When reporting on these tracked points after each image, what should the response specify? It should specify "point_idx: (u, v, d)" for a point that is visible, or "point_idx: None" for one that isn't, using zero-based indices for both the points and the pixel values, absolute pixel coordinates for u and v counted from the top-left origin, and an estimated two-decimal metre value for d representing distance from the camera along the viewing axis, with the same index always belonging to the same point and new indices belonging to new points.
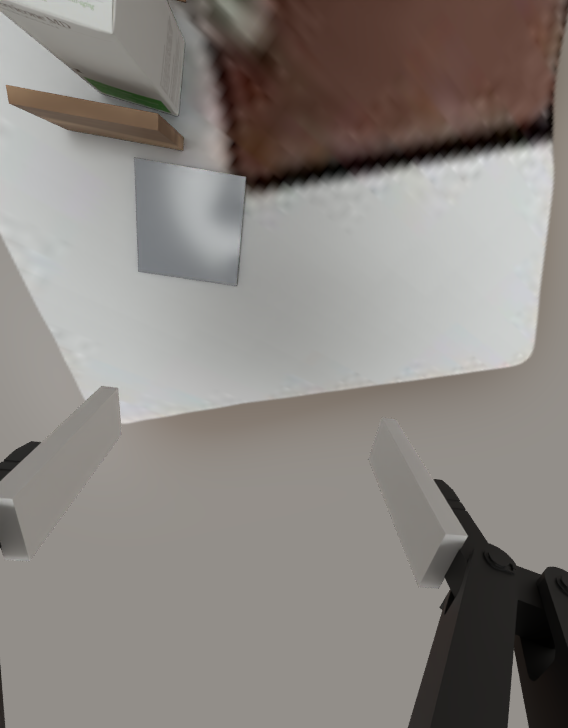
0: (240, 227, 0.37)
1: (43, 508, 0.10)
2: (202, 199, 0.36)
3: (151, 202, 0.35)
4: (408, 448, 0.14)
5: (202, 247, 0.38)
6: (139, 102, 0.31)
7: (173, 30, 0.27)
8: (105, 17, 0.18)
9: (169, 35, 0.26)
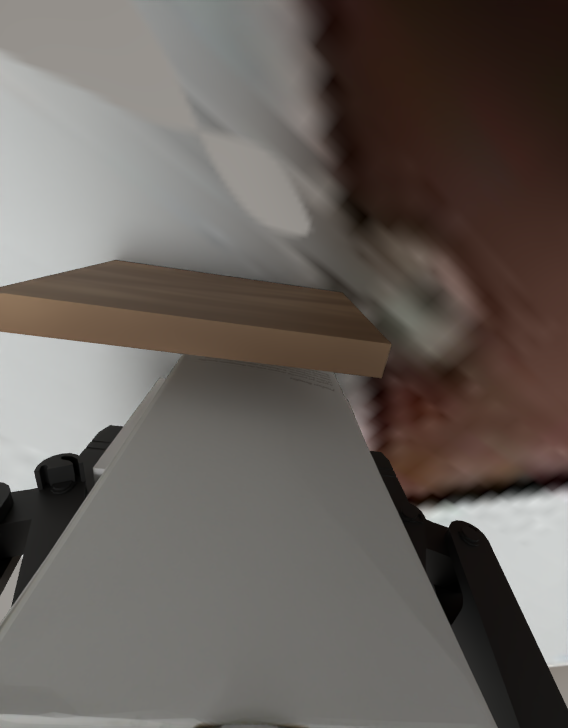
0: None
1: None
2: None
3: None
4: None
5: None
6: None
7: None
8: None
9: None
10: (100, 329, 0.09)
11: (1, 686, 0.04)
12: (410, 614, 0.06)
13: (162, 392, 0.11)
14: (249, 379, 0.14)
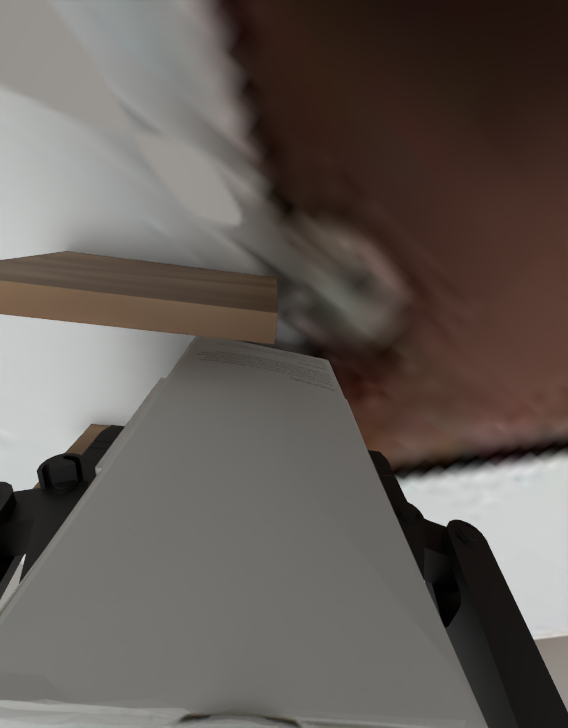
0: None
1: None
2: None
3: None
4: None
5: None
6: None
7: None
8: None
9: None
10: (22, 303, 0.11)
11: None
12: (402, 611, 0.06)
13: (162, 391, 0.12)
14: (248, 378, 0.14)
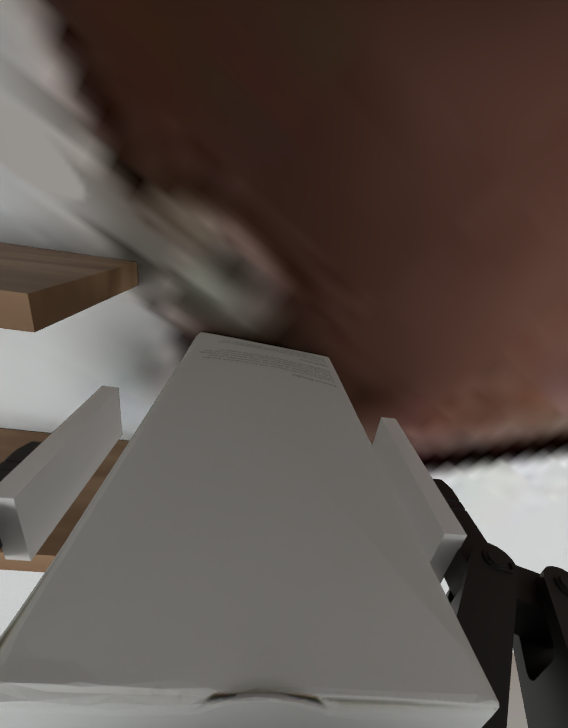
0: None
1: (44, 508, 0.10)
2: None
3: None
4: (407, 448, 0.14)
5: None
6: None
7: None
8: None
9: None
10: None
11: (29, 659, 0.04)
12: (413, 595, 0.06)
13: (168, 389, 0.12)
14: (252, 375, 0.14)
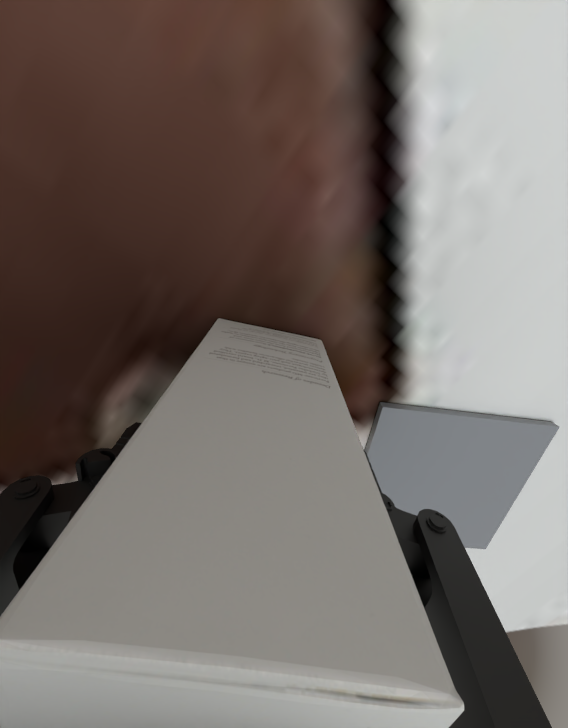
0: (460, 416, 0.20)
1: None
2: (405, 468, 0.22)
3: None
4: None
5: (476, 473, 0.22)
6: None
7: (222, 344, 0.14)
8: (416, 724, 0.04)
9: (238, 356, 0.13)
10: None
11: None
12: None
13: None
14: None
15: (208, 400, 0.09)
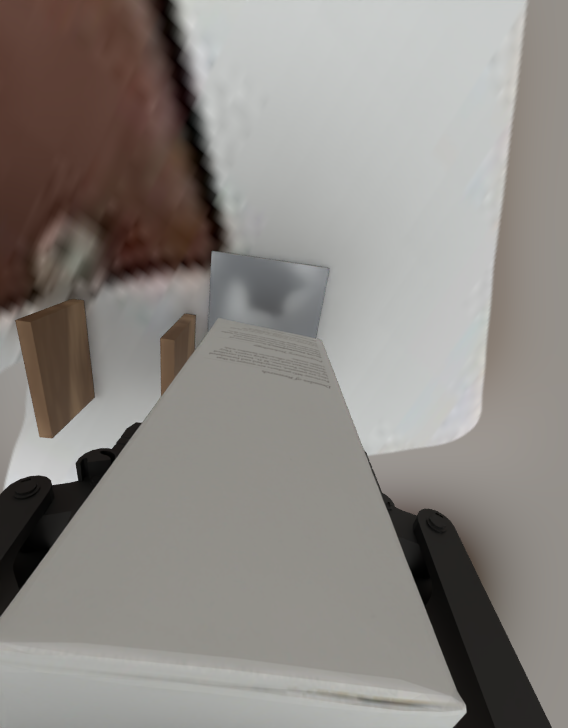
0: (263, 259, 0.32)
1: None
2: (237, 300, 0.33)
3: None
4: None
5: (285, 305, 0.34)
6: None
7: (222, 344, 0.14)
8: (417, 726, 0.04)
9: (238, 356, 0.13)
10: (42, 411, 0.30)
11: None
12: None
13: None
14: None
15: (208, 400, 0.09)
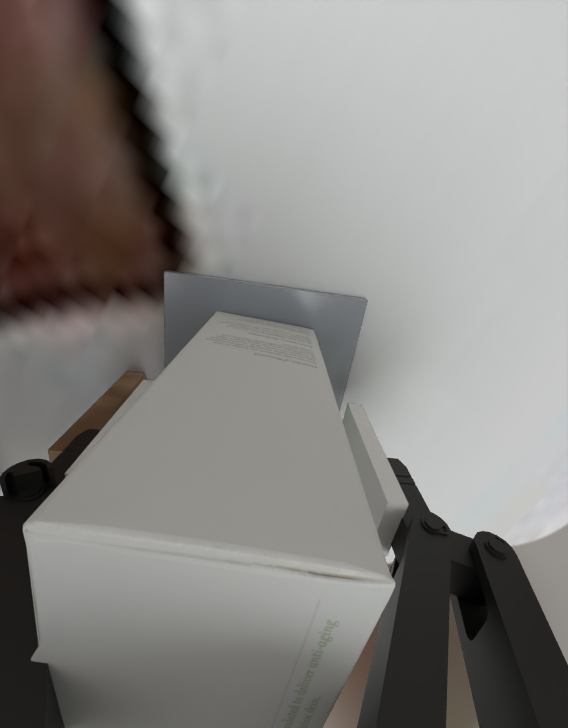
0: (254, 285, 0.18)
1: None
2: None
3: None
4: (368, 430, 0.15)
5: None
6: None
7: (219, 332, 0.15)
8: (356, 597, 0.05)
9: (232, 341, 0.14)
10: None
11: None
12: None
13: None
14: None
15: (203, 375, 0.11)
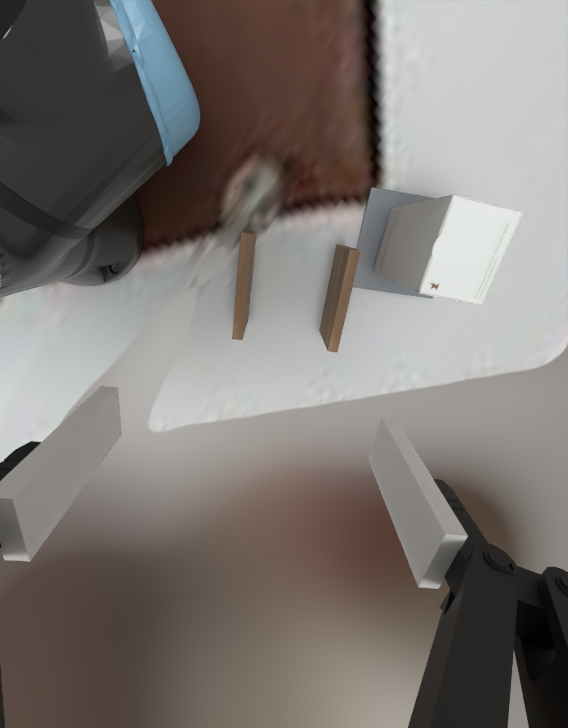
0: (411, 195, 0.39)
1: (43, 508, 0.10)
2: (384, 231, 0.40)
3: (381, 277, 0.43)
4: (408, 448, 0.14)
5: None
6: None
7: None
8: (514, 215, 0.26)
9: None
10: (240, 314, 0.37)
11: (418, 285, 0.28)
12: (438, 207, 0.27)
13: (389, 277, 0.36)
14: (391, 247, 0.36)
15: None
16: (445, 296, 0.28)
